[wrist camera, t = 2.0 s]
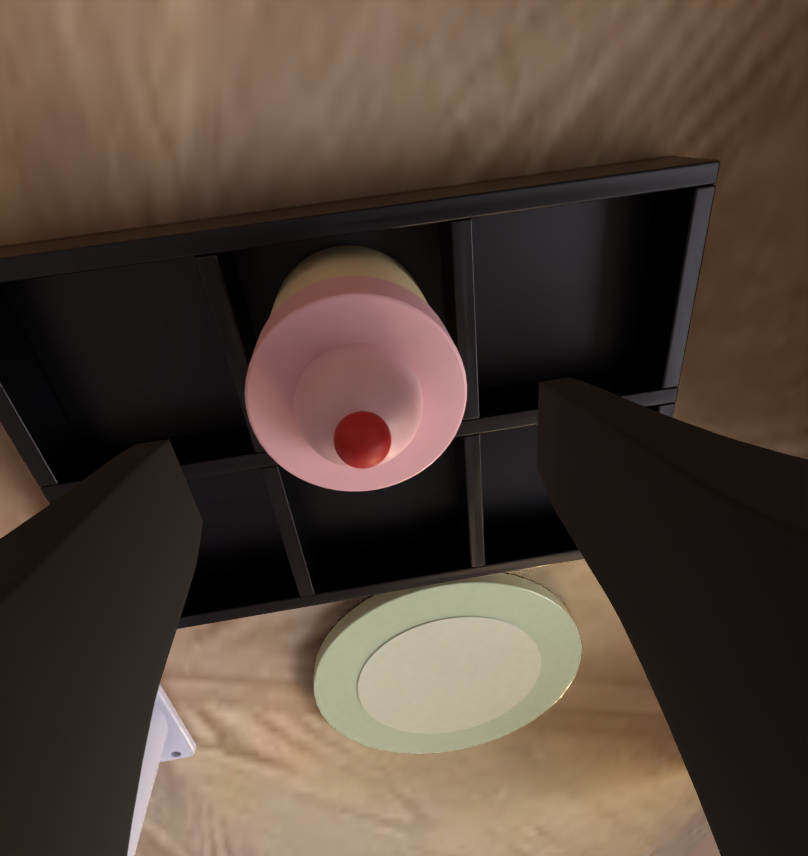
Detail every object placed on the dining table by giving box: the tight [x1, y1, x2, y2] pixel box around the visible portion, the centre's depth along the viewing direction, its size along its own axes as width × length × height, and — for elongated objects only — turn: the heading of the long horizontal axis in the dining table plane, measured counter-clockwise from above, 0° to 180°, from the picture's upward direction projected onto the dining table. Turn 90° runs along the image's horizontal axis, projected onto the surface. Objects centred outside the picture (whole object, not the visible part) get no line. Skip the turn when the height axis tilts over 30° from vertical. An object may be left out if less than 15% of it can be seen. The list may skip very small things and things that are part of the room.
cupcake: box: [245, 245, 467, 491], centre depth 13 cm, size 5×5×8 cm
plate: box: [313, 573, 582, 754], centre depth 27 cm, size 14×14×1 cm
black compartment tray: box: [0, 156, 720, 629], centre depth 18 cm, size 14×21×2 cm
